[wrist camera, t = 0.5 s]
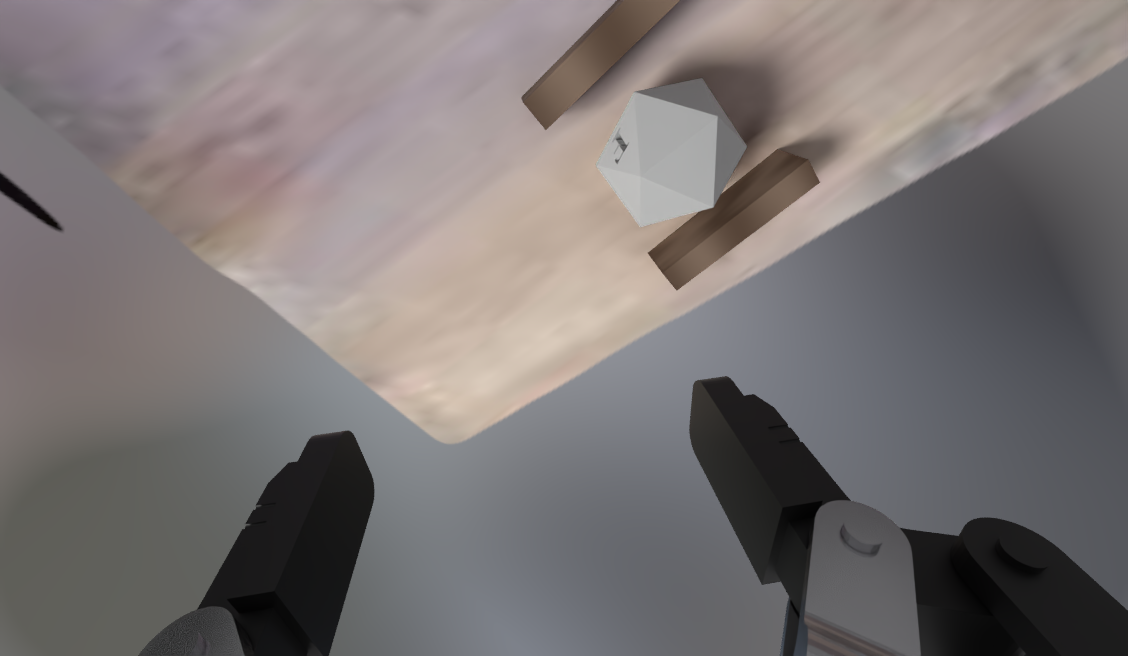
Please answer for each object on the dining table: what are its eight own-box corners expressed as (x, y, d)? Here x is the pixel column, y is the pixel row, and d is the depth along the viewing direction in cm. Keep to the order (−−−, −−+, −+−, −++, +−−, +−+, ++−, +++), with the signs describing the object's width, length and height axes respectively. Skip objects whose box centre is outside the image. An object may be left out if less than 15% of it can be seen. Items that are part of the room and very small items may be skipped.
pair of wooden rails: (669, -53, 26) (693, -70, 23) (788, 170, 34) (819, 182, 30) (521, 97, 29) (523, 102, 26) (661, 269, 37) (676, 290, 34)
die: (678, 46, 29) (616, 60, 23) (783, 123, 29) (750, 161, 22) (619, 152, 35) (556, 188, 29) (704, 218, 34) (660, 271, 28)
